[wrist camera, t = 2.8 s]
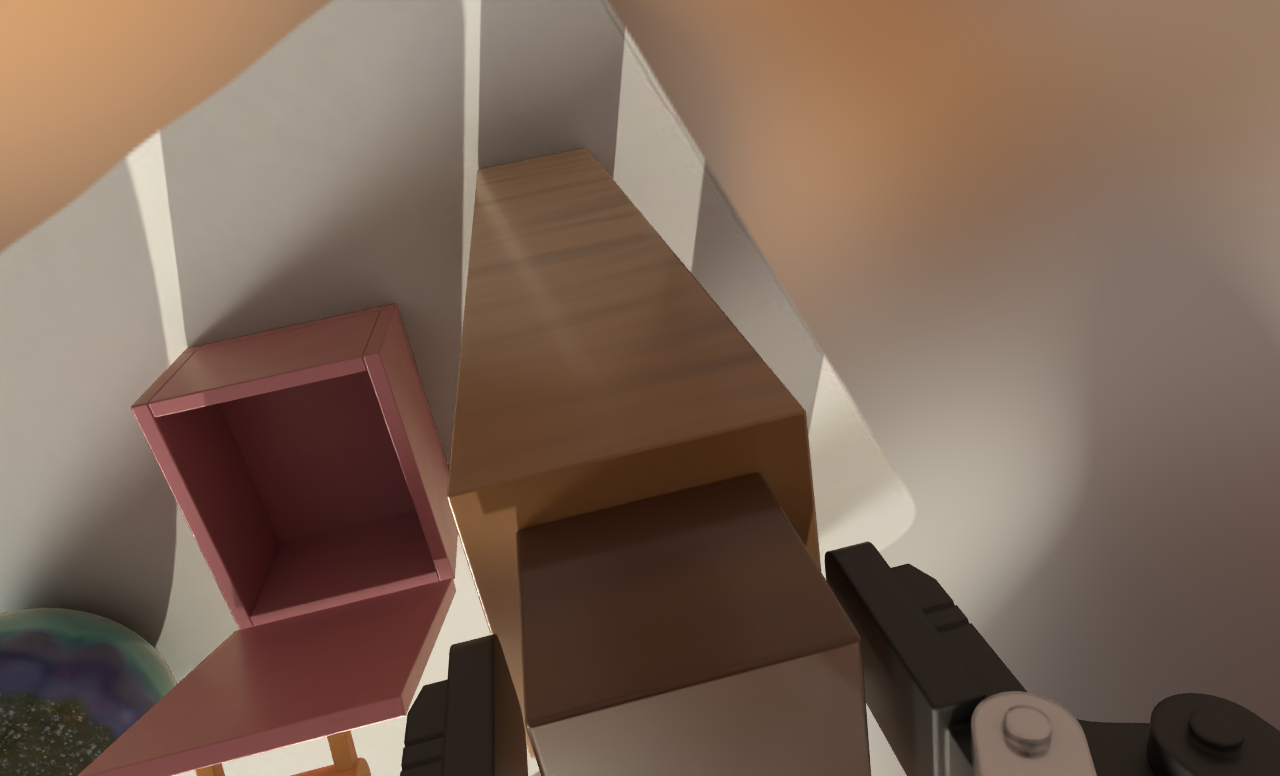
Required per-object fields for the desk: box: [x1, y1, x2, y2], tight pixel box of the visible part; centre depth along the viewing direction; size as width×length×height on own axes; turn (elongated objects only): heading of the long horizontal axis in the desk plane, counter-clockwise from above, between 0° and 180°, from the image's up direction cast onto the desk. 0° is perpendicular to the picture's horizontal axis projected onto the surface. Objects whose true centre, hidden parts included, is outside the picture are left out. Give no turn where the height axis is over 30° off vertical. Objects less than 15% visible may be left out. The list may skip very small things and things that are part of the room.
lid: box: [78, 578, 456, 776], centre depth 37 cm, size 14×12×5 cm
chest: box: [131, 304, 458, 630], centre depth 45 cm, size 14×12×8 cm
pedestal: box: [447, 148, 821, 758], centre depth 30 cm, size 6×6×34 cm
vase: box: [0, 607, 177, 776], centre depth 46 cm, size 15×15×13 cm
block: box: [516, 473, 871, 776], centre depth 13 cm, size 4×4×4 cm
